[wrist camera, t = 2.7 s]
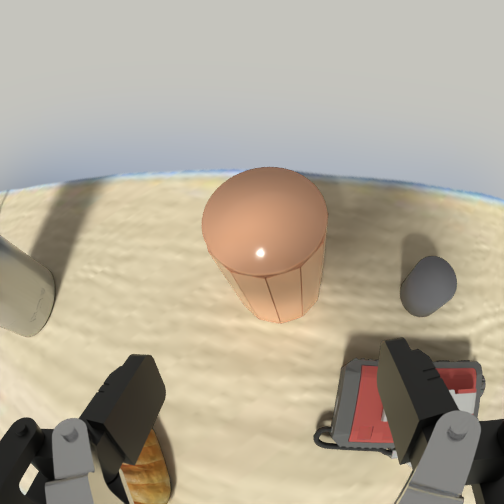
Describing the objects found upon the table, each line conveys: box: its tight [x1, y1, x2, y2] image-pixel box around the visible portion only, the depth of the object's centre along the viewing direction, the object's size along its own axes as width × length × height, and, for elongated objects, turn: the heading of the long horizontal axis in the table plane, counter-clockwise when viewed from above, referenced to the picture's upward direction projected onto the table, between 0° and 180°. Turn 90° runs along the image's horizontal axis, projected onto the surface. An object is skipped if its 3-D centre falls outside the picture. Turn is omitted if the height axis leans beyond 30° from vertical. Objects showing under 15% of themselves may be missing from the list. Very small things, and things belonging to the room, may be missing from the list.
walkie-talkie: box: [314, 358, 485, 468], centre depth 15 cm, size 9×4×20 cm
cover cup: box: [202, 167, 328, 324], centre depth 20 cm, size 7×7×10 cm
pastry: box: [120, 429, 171, 504], centre depth 17 cm, size 9×7×4 cm
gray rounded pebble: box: [400, 256, 457, 317], centre depth 20 cm, size 4×4×4 cm
